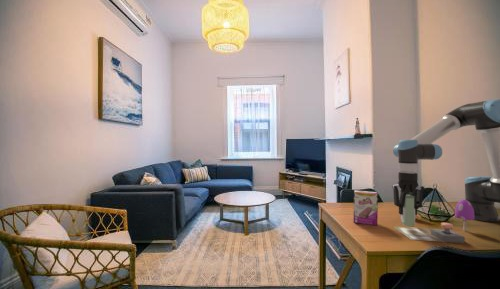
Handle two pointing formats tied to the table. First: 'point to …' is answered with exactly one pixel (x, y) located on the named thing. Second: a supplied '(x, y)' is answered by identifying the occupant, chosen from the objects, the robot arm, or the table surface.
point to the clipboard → (418, 234)
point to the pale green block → (409, 210)
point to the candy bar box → (365, 207)
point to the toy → (464, 212)
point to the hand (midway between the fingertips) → (407, 221)
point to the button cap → (447, 227)
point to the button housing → (447, 236)
